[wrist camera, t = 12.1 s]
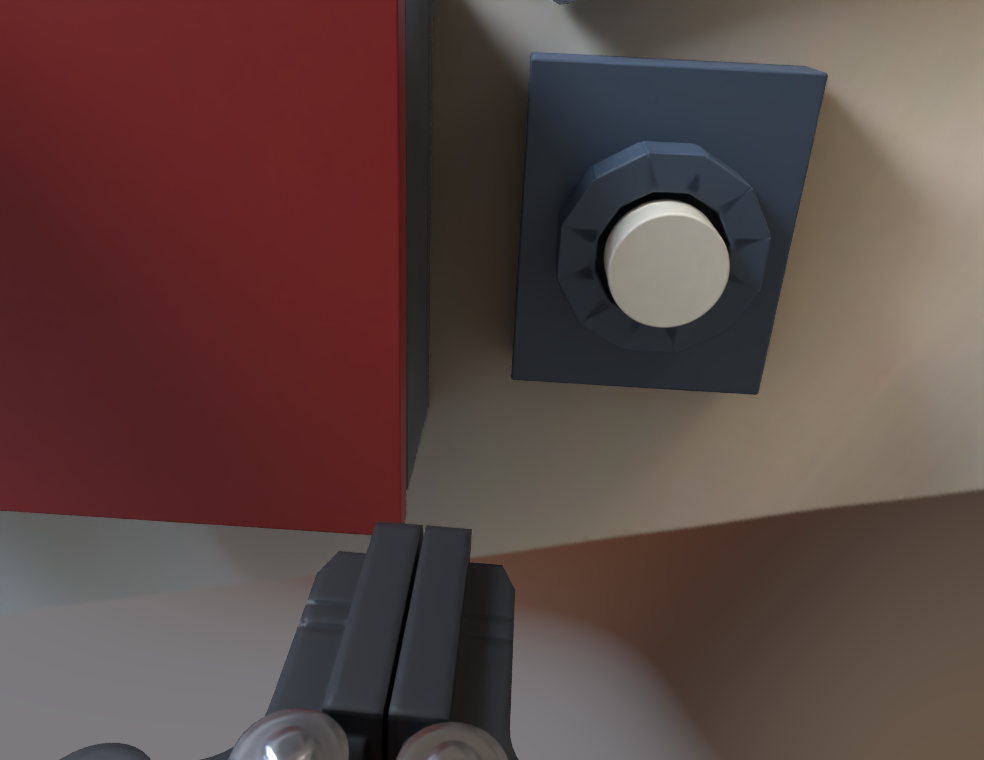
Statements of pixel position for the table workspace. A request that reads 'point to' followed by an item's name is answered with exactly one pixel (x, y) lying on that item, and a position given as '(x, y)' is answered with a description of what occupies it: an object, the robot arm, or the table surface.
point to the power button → (665, 263)
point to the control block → (646, 177)
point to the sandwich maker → (417, 217)
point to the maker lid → (204, 261)
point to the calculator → (563, 1)
